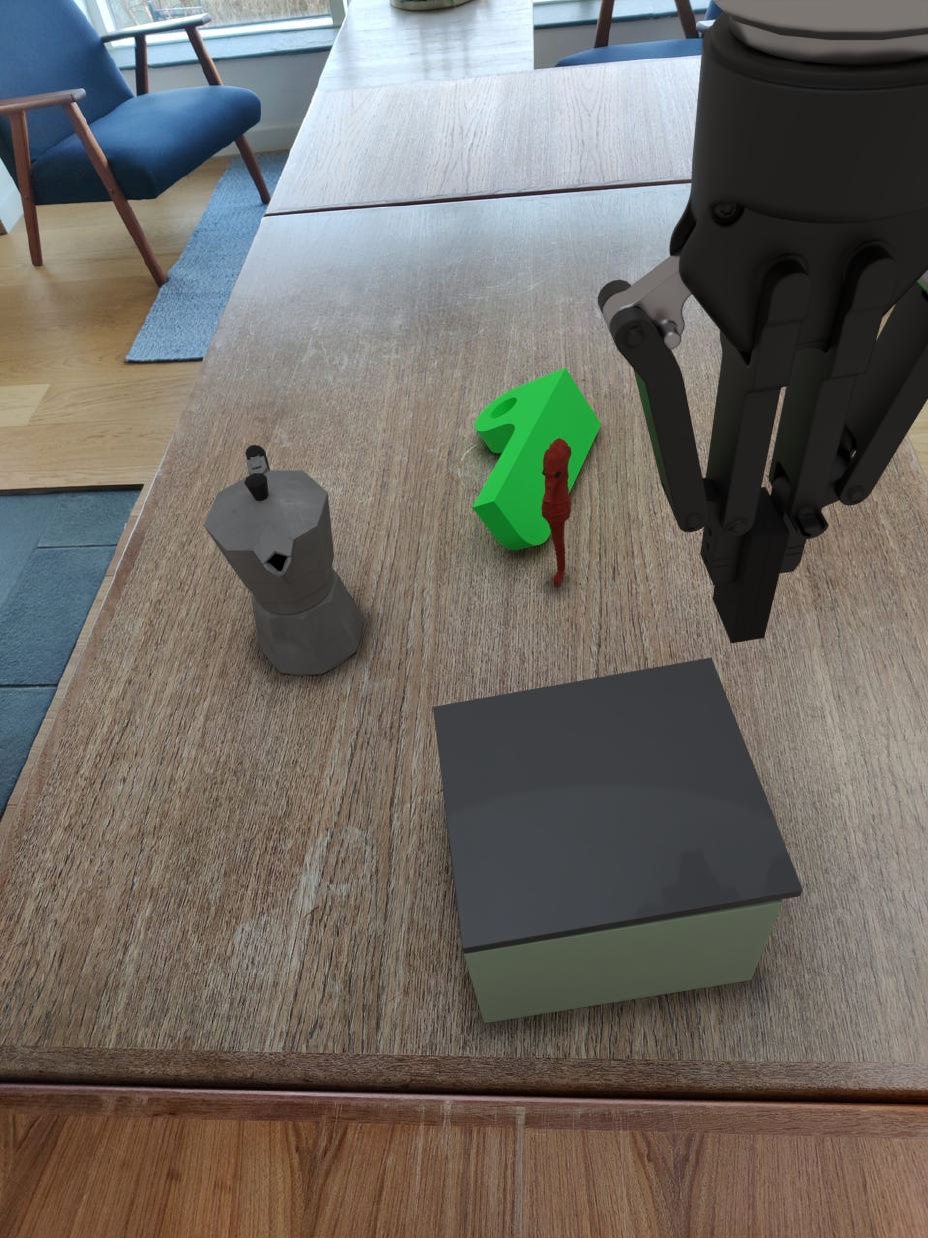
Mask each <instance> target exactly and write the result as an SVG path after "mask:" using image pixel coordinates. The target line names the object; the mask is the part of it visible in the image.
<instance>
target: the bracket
mask: <svg viewBox="0 0 928 1238" xmlns="http://www.w3.org/2000/svg"><path fill="white" fill-rule="evenodd" d="M601 426H602V424H601V421H600V420H599V419H598V417H597V415H596V414H595V411H594V410H593V409H592V407H591V406H590V404H589V402H588V401H587V399H586V398H585V396H584V394H583V393H582V391H581V390H580V388H579V386H578V385H577V383H576V381H575V380H574V378H573V376H572V375H571V373H570V372H569V370H568V368H567V367H564V368H560V369H558V370H556V371H553V372H550V373H548V374H546V375H543V376H541V377H539V378H536V379H533V380H531V381H529V382H526V383H524V384H520V385H518V386H516V387H514V388H511V389H509V390H508V391H505V392H504V393H502V394H501V395H499V396H498V397H496V398H495V399H494V400H493V401H491V402H490V403H489V404H487V406H486V407H485V408H484V409H483V410H482V411H481V412H480V414H479V415H478V416H477V418H476V420H475V422H474V429H475V431H476V432H477V434H478V435H479V436H480V438H481V440H483V442H484V443H485V445H486V446H487V447H488V449H489V450H490V451H491V452H492V453H494V454H501V455H500V456H499V458H498V460H497V461H496V463H495V465H494V467H493V469H492V471H491V472H490V474H489V476H488V478H487V480H486V481H485V483H484V485H483V487H482V489H481V490H480V493H479V494H478V496H477V498H476V500H475V502H474V503H473V505H472V507H471V509H472V510H473V511H474V512H475V513H476V515H477V516H478V517H479V519H480V520H481V521H482V523H483V524H484V525H485V527H486V528H487V529H488V531H489V532H490V533H491V534H492V536H493V537H494V538H495V540H496V541H497V542H498V544H500V545H501V546H502V547H503V548H505V549H507V550H510V551H518V550H519V551H520V550H523V549H527V548H532V547H535V546H539V545H542V544H544V543H545V542H546V541H547V540H548V539H549V537H550V536H551V530H550V527H549V524H548V522H547V521H546V520H545V519H544V518H543V517H542V510H541V507H542V500H543V496H544V494H545V475H543V474H542V471H543V458H544V454H545V451H546V450H548V448H549V447H550V443H551V445H552V443H553V441H555V440H556V439H558V438H561V439H563V440H564V441H566V442H567V443H568V446H569V447H570V446H571V457H570V459H569V463H568V474H569V478H568V487H569V493H571V490H572V489H573V486H574V484H575V481H576V479H577V477H578V475H579V473H580V471H581V469H582V467H583V465H584V463H585V460H586V458H587V456H588V455H589V451H590V449H591V448H592V445H593V443H594V441H595V439H596V437H597V435H598V432H599V431H600V428H601Z"/></svg>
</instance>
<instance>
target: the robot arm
mask: <svg viewBox="0 0 928 1238" xmlns="http://www.w3.org/2000/svg"><path fill="white" fill-rule="evenodd" d="M712 1H713V3H714V4H716V6H717V7H718V8H720V9H721V10H722V12H721V13H720V14H719V15H718V16H717V17H716V18H715V20H714V21H713V23H712V24H711V25H710V26H709V27H708V29H707V30H706V31H705V32H704V35H703V38H702V44H701V56H700V67H699V80H698V89H697V90H698V91H697V101H696V102H697V103H696V111H695V113H696V114H695V123H694V124H695V125H694V137H693V146H692V147H693V148H692V157H691V180H690V193H689V197H688V200H687V202H686V206H685V208H684V211H683V213H682V214H681V216H680V218H679V219H678V221H677V222H676V224H675V226H674V228H673V230H672V233H671V235H670V241H669V246H668V248H669V249H668V250H669V256H668V257H667V258H666V259H664V260H663V261H662V262H661V263H659V264H658V265H656V266H655V267H654V268H652V270H650V271H648V272H647V273H646V274H645V275H644V276H642V277H640V279H639V280H637V281H635V282H634V283H633V284H631V283H630V282H628V280H623V279H614V280H611V281H609V282H607V283H606V284H604V286H602V287H601V289H600V290H599V293H598V295H597V305H598V308H599V310H600V313H601V314H602V317H603V320H604V323H605V324H606V327H607V330H608V331H609V332H608V333H610V335H611V336H610V337H611V339H612V340H613V342H614V344H615V347H616V350H618V352H619V353H620V354H621V356H622V357H623V358H624V359H625V360H626V362H627V363H628V364H629V365H630V367H631V368H632V369H633V374H634V377H635V378H634V379H635V381H636V386H637V390H638V394H639V399H640V402H641V406H642V412H643V415H644V420H645V423H646V427H647V431H648V435H649V440H650V444H651V447H652V452H653V457H654V460H655V465H656V468H657V472H658V476H659V481H660V485H661V488H662V490H663V492H664V495H665V498H666V500H667V503H668V505H669V508H670V509H671V512H672V514H673V517H674V519H675V522H676V525H677V527H678V528H679V529H680V530H681V531H682V532H684V533H694V532H698V531H700V530H703V532H702V538H701V545H700V552H699V555H700V558H701V560H702V562H703V564H704V567H705V569H706V572H707V574H708V577H709V578H710V581H711V583H712V586H713V593H712V602H713V604H714V606H715V609H716V611H717V614H718V616H719V618H720V621H721V623H722V625H723V628H724V630H725V632H726V635H727V637H728V640H729V642H730V644H737V643H742V642H750V641H755V640H761V639H762V640H763V639H765V636H766V633H767V628H768V624H769V621H770V620H769V619H770V615H771V612H772V608H773V605H774V600H775V595H776V590H777V587H778V583H779V578H780V575H782V574H786V573H794V572H795V570H796V569H797V568H798V567H799V565H800V564H801V562H802V559H803V555H804V551H805V547H806V542H807V540H812V539H815V538H817V537H819V536H821V535H823V534H824V533H825V532H826V531H827V530H828V528H829V526H830V524H829V522H828V521H827V519H826V517H825V515H824V514H823V511H822V510H823V508H825V507H828V506H829V505H832V504H835V503H838V502H840V503H841V504H842V505H844V506H849V507H850V506H856V505H858V504H861V503H862V502H864V501H865V500H867V499H868V497H869V496H870V495H871V493H872V492H873V490H874V489H875V487H876V485H877V484H878V482H879V480H880V479H881V477H882V475H883V474H884V472H885V470H886V469H887V467H888V465H889V464H890V462H891V461H892V459H893V457H894V456H895V454H896V453H897V451H898V449H899V448H900V446H901V444H902V442H903V441H904V439H905V437H906V436H907V435H908V433H909V431H910V429H911V428H912V426H913V424H914V423H915V421H916V419H917V418H918V416H919V415H920V413H921V412H922V409H924V407H925V405H926V403H927V401H928V0H712ZM691 296H693V298H694V299H695V301H697V303H698V304H699V305H700V307H701V309H703V310H704V312H705V313H706V315H707V316H708V317H709V319H710V320H711V321H712V322H713V324H714V325H715V326H716V327H717V329H718V330H719V342H720V347H721V361H720V368H719V375H718V385H717V391H716V398H715V406H714V411H713V420H712V427H711V435H710V442H709V449H708V450H709V451H708V457H707V463H706V464H707V465H706V472H705V477H703V474H702V469H701V463H700V457H699V452H698V446H697V442H696V437H695V431H694V427H693V422H692V416H691V411H690V405H689V401H688V395H687V391H686V385H685V379H684V377H683V373H682V369H681V367H680V365H679V362H678V360H677V359H676V357H675V354H674V352H673V350H674V349H677V348H678V347H679V346H680V345H681V343H682V335H683V333H684V332H685V326H686V323H685V319H684V315H683V308H684V306H685V303H686V302H687V300H688V299H689V298H690V297H691ZM891 309H892V310H891ZM889 312H890V314H889V315H888V317H887V319H886V321H885V323H884V325H883V327H882V329H881V331H880V328H881V325H882V321H883V318H884V317H885V316H886V315H887V314H888V313H889ZM879 331H880V332H879ZM782 388H785V391H784V396H783V401H782V405H781V412H780V416H779V421H778V427H777V431H776V436H775V441H774V446H773V452H772V456H771V461H770V467H769V471H768V476H767V477H768V482H769V484H770V486H771V490H770V491H771V492H769V491H768V489H767V487H766V486H762V485H763V481H764V480H763V479H764V475H765V470H766V465H767V461H768V455H769V450H770V446H771V441H772V436H773V430H774V425H775V422H776V421H775V420H776V416H777V411H778V406H779V401H780V395H781V391H782Z"/></svg>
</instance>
